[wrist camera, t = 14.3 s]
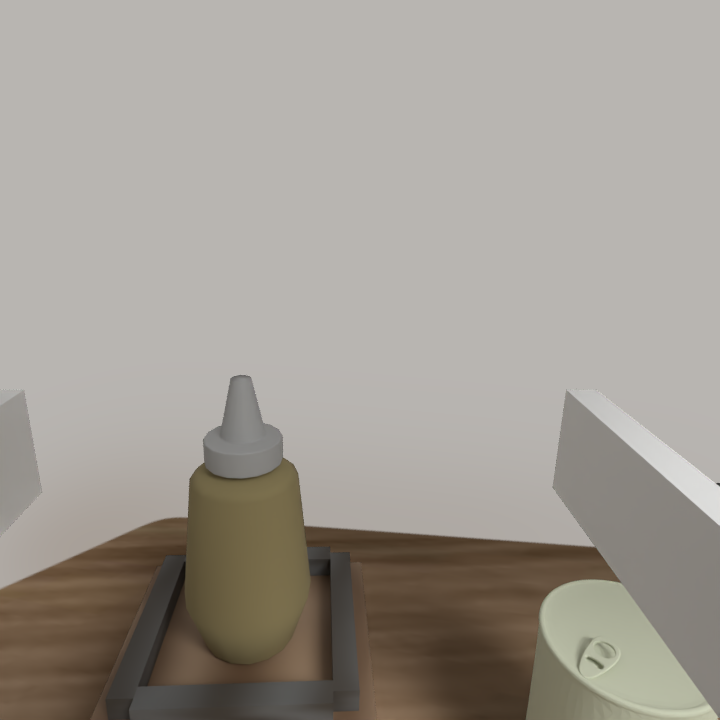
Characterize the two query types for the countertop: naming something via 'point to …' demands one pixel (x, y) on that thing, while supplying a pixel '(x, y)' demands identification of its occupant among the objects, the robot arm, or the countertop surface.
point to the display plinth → (247, 681)
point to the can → (606, 661)
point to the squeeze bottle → (245, 537)
